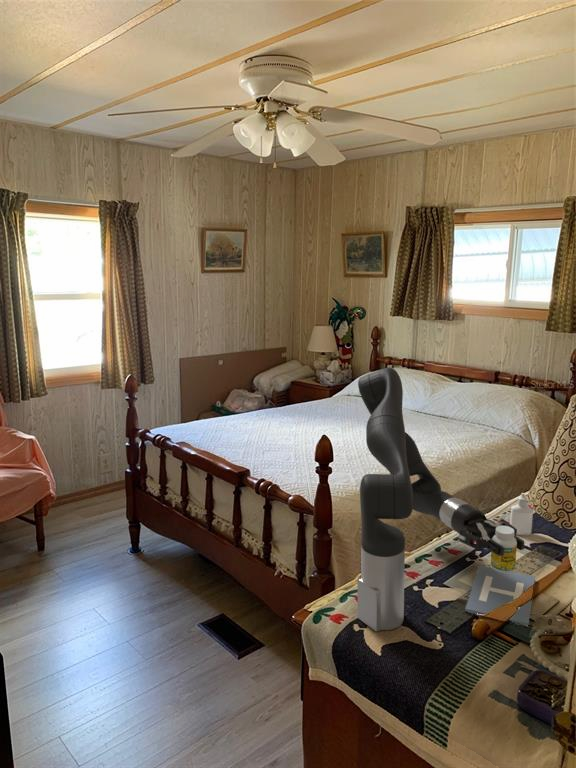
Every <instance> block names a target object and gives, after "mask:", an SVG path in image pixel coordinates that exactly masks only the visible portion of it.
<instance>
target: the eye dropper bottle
mask: <svg viewBox="0 0 576 768" xmlns="http://www.w3.org/2000/svg"><path fill="white" fill-rule="evenodd" d="M529 506H530V505H528V497H526V496H525V493H524V492H521V494H520V495H519V496H518V497H517V503H516V504H514V505H511V508H510V515H509V516H510V519H509V524H511V525H512V526H513V527H515V528H516V529H517V534H516V536H517V535H518V536H530V535H532V531H533V530H532V529H533V517H534V514H533V511H534V510H533V508H532V507H531V506H530V507H531V508H532V509H531V508H530V507H529Z"/></svg>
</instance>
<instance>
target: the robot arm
mask: <svg viewBox="0 0 576 768" xmlns="http://www.w3.org/2000/svg"><path fill="white" fill-rule="evenodd" d="M357 387H358V392H359V394H360V397H361V399H362V401H363V403H364V405H365V407H366V409H367V411H368V413H369V414H370V416H369V418H368V420H367V422H366V426H365V427H366V429H365V432H366V433H365V435H366V439H365V441H366V447H367V449H368V451H369V452H370V454H371V455H372V457H374V458H375V460H376V461H377V462H378V463H379V464H381V465H382V466H383V467H384V468H385V469H386V470H387V471H388V472H389V473H388V474H387V473H366V474H364V475H363V476H362V477H361V480H360V485H359V501H360V502H359V503H360V516H361V517H360V519H361V539H360V540H361V541H360V545H361V547H360V551H361V552H360V561H361V563H360V565H361V567H360V569H361V570H360V576H361V577H360V578H358V579H357V619H358V620H360V621H361V622H362V623H364V624H365V625H367V626H368V627H369V628H370V629H372V630H373V631H374V632H375V633H376V632H379V631H389V630H394V629H396V628H399V627H400V626H402V624H403V623H404V615H405V614H404V613H405V562H406V561H405V559H406V558H405V556H406V554H405V553H406V538H405V536H404V533H403V532H402V530H400V529H399V528H397V527H395V526H393V525H390V524H388V523H385V522H384V521H382V520H405V519H408V518H409V517H411V515H412V512H413V511H415V512H418V513H421V514H425V515H428V516H429V515H430V516H433V517H435V518H437V520H440V521H441V522H443V523H444V524H445V526H447V527H448V528H450V529H452V531H455V532H456V533H457V534H458V542H460V543H462V544H464V545H466V546H469V547H471V548H472V549H475V550H476V551H481V550H482V549H484V550H486V551H487V550H488V551H492V552H493V553H495V554H497V555H499V556H503V555H504V548H503V546H501V545H499V544H498V543H496V542H495V541H493V540H492V538H493V536H494V535H496V534H495V532H496V527H498V526H508V527H511V528H513V529H514V538H515V539H516V541H517V550H520V551H523V550H524V549H525V541H524V540H523V539H522V538H520V537H518V536H517V535H516V534H517V529H516V528H515V527H513V526H512V525H511V524H510V522H509V521H507V520H506V519H503V518H501V519H499V522H495V521H493V520H489V519H488V518H487V517H486V515H485V513H484V512H483V511H482V510H479V509H478V508H476V507H475V506H472V505H471V504H469V503H467V502H466V501H464V500H462V499H459V498H457V497H455V496H454V495H451V494H450V493H448V492H446V491H443V490H442V488H441V484H440V482H439V481H438V480H437V478H436V477H435V476H434V475H433V474H432V472H431V471H430V470H429V468H428V467H427V466H426V463H425V462H424V460H423V459H422V456H421V452H420V451H419V449H418V446H417V444H416V442H415V440H414V439H413V438H412V437H411V436H410V435H409V433H407V432H406V428H405V423H404V415H403V400H404V398H403V397H404V396H403V395H404V394H403V390H404V389H403V383H402V380H401V376H400V375H399V373H398V372H397V371H396V369H394V368H393V367H384V368H381V369H379V370H376V371H373V372H371V373H368V374H366V375H363V376H360V377H359V378H358V381H357ZM412 476H413V477H414V476H417V477H418V478H419V479H418V480H415V481H413V482H412V479H411V477H412Z"/></svg>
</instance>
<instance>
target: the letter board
mask: <svg viewBox="0 0 576 768" xmlns="http://www.w3.org/2000/svg"><path fill="white" fill-rule="evenodd" d="M534 582H535V583H536V575H531V574H527V573H522V572H515V571H513V572H511V573H501V572H498V571H496V570H494V569H493V568H492V567H491V566H488V565H487V566H486V565H481V564H479V565H478V569H477V571H476V575H475V577H474V580H473V583H472V587H471V590H470V593H469V596H468V599H467V602H466V605H465V608H464V611H468V612H472V613H476V614H477V613H478V614H487V613H488V612H491V611H492V610H494V609H495V608H496V607H499V606H501V605H504V604H507V603H509V602H511V601H513V600H514V599H516V598H518V597H519V596H520V595H521V594H522V593H523V592H524V591H526V590H527V589H528V588H529V587H530V586H532V585H533V584H534V585H535V583H534ZM531 604H533V599H532V600H531V601H529V602H528V603H526V604H524V605H523V606H521V607H518V609H517V611H516V613H515V614H514V615H513V616H512V617H511V618H510V619H509V620H510V621H512V622H516V623H520V624H523V625H529V626H530V620H531V619H530V618H531V613H530V611H532V605H531ZM529 619H530V620H529Z"/></svg>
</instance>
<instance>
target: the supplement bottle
mask: <svg viewBox="0 0 576 768" xmlns="http://www.w3.org/2000/svg"><path fill="white" fill-rule="evenodd" d="M495 534H496V535H494V536H493V538H492V539H491V540H493V541H495V542H496V543H498V544H499V545H501V546H503V548H504V555H503V556H499V555H497V554H495V553H493V552H492V551H491V554H490V567H492V568H493V569H494V570H496V571H498V572H501V573H511V572H515V569H516V563H517V562H516V560H517V550H518V548H517V541H516V539H515V538H514V529H513V528H511V527H508V526H498V527H496V532H495Z"/></svg>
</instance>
